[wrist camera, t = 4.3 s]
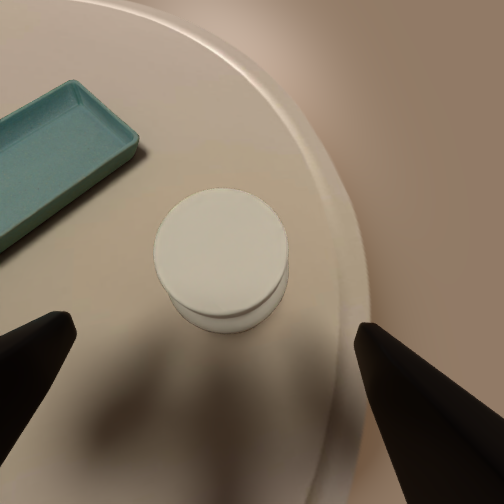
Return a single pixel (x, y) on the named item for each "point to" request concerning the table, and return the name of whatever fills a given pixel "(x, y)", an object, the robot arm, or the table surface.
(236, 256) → the white rounded container
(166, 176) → the table surface
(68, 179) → the rectangular tray
